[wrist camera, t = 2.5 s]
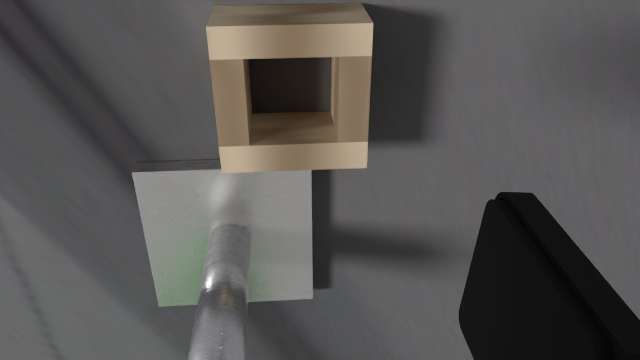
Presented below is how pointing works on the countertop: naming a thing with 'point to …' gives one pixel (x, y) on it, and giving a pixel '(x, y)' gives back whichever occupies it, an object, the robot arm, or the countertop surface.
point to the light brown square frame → (291, 127)
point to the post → (225, 244)
